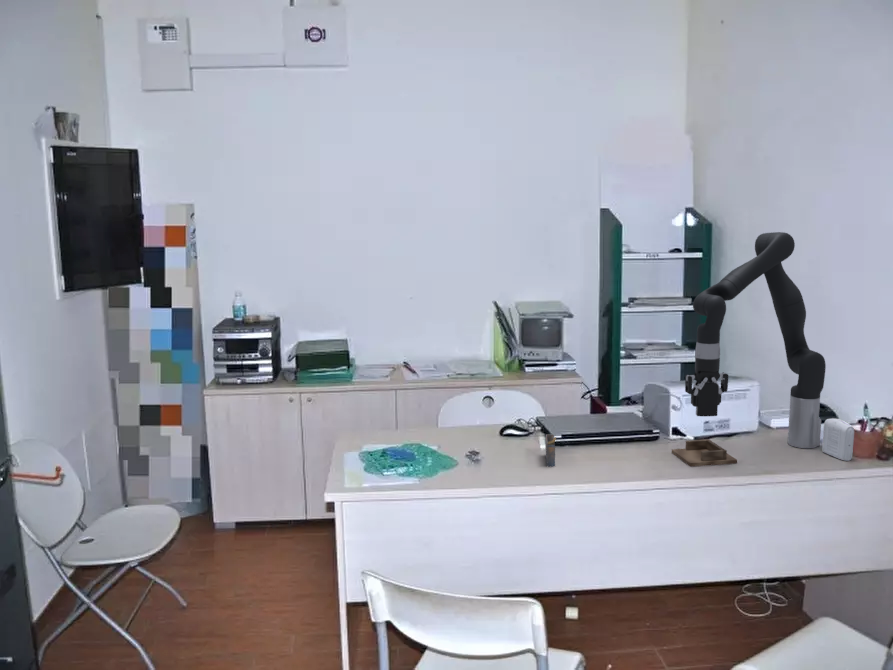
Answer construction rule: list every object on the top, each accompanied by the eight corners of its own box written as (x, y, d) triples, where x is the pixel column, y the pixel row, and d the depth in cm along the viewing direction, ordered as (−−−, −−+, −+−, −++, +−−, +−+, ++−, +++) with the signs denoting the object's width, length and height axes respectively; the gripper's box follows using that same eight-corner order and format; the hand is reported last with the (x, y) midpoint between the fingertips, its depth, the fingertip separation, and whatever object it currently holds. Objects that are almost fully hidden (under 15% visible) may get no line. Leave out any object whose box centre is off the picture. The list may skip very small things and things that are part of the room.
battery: (714, 413, 254) (715, 379, 252) (718, 416, 251) (719, 382, 249) (693, 413, 255) (694, 380, 253) (696, 417, 251) (697, 382, 249)
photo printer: (854, 460, 250) (857, 423, 248) (843, 461, 249) (846, 424, 246) (830, 450, 260) (832, 415, 257) (819, 452, 258) (822, 416, 256)
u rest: (716, 449, 263) (716, 437, 262) (737, 463, 249) (737, 450, 249) (671, 452, 261) (671, 440, 260) (690, 466, 247) (690, 454, 246)
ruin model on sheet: (556, 467, 250) (556, 439, 249) (546, 467, 251) (546, 438, 249) (554, 456, 261) (554, 428, 260) (545, 456, 262) (545, 428, 260)
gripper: (722, 352, 254) (720, 401, 257) (681, 354, 252) (679, 403, 255) (734, 357, 246) (732, 407, 249) (691, 359, 244) (690, 409, 247)
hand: (705, 405), depth 252 cm, fingers closed on battery, 7 cm apart
